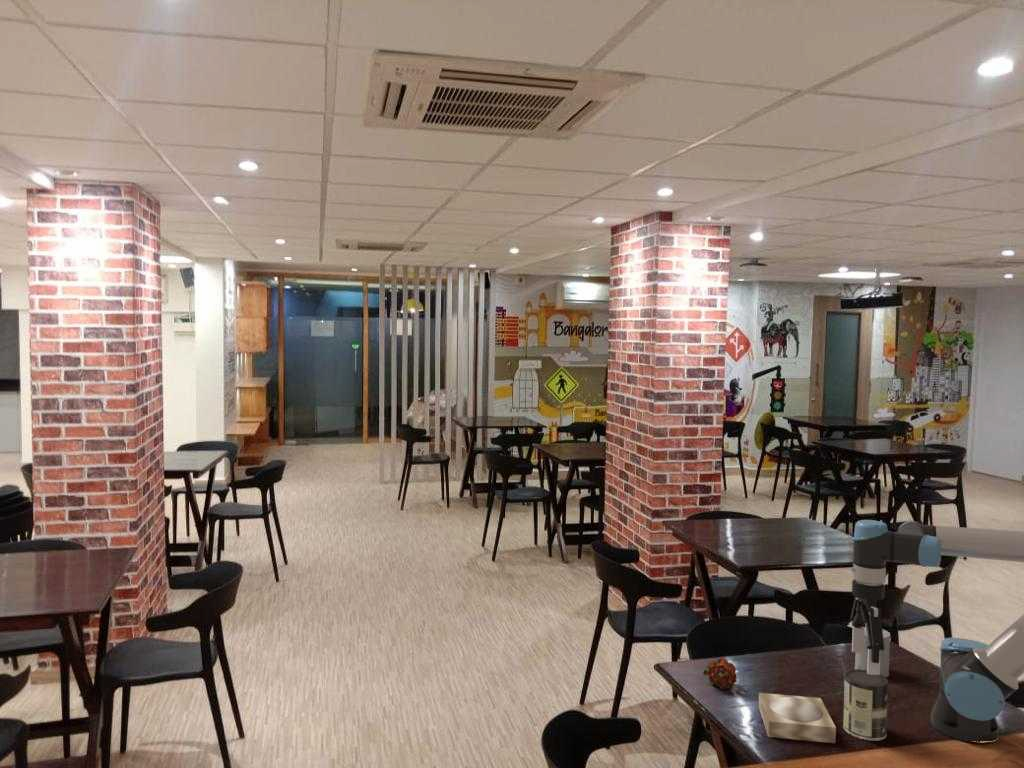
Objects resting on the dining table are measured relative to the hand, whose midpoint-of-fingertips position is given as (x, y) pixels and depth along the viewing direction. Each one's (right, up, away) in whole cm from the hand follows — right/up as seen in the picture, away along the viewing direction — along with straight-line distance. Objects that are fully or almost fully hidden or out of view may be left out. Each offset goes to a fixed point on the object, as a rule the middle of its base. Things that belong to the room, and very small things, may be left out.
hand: (865, 662), depth 189 cm
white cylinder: (+20, -17, +37) cm, 45 cm away
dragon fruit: (-30, -17, +26) cm, 43 cm away
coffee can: (0, -18, +1) cm, 18 cm away
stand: (-17, -17, +4) cm, 24 cm away
